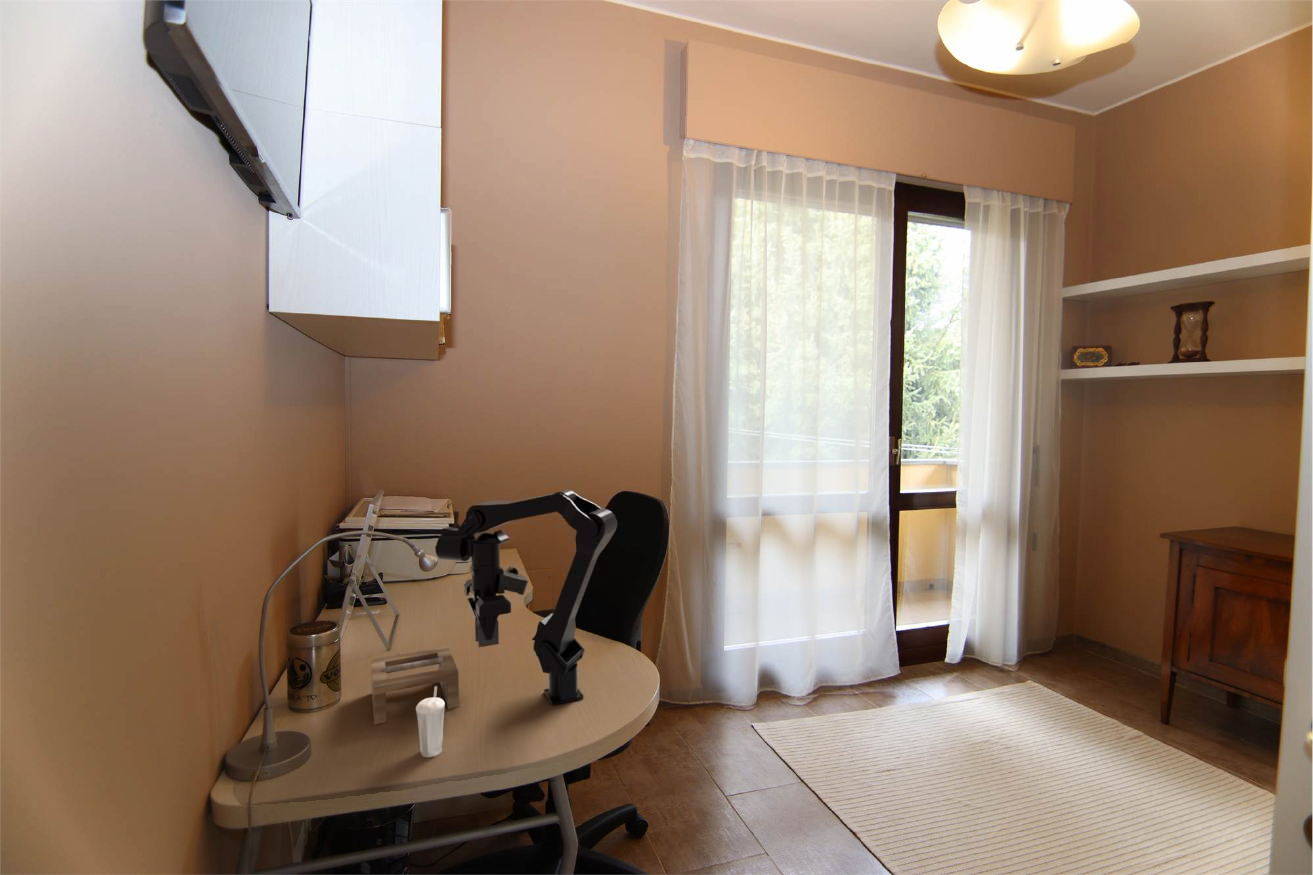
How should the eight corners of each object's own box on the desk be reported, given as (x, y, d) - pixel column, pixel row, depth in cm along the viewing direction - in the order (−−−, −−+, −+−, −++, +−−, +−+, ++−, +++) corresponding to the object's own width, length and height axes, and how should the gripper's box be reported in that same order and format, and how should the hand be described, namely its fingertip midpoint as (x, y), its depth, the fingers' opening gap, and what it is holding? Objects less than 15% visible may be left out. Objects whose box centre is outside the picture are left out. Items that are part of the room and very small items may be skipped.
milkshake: (450, 742, 106) (449, 685, 106) (440, 759, 101) (439, 700, 101) (424, 742, 106) (422, 686, 106) (413, 760, 101) (411, 701, 100)
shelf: (459, 706, 119) (458, 668, 119) (374, 724, 112) (373, 684, 112) (448, 678, 132) (448, 643, 131) (371, 693, 125) (370, 656, 125)
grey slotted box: (498, 643, 127) (498, 621, 127) (479, 647, 125) (478, 624, 125) (494, 637, 131) (494, 615, 131) (475, 640, 129) (475, 618, 129)
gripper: (536, 568, 123) (537, 645, 123) (513, 549, 139) (514, 616, 140) (479, 575, 118) (480, 655, 118) (463, 554, 134) (464, 624, 135)
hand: (487, 636), depth 128 cm, fingers closed on grey slotted box, 4 cm apart
